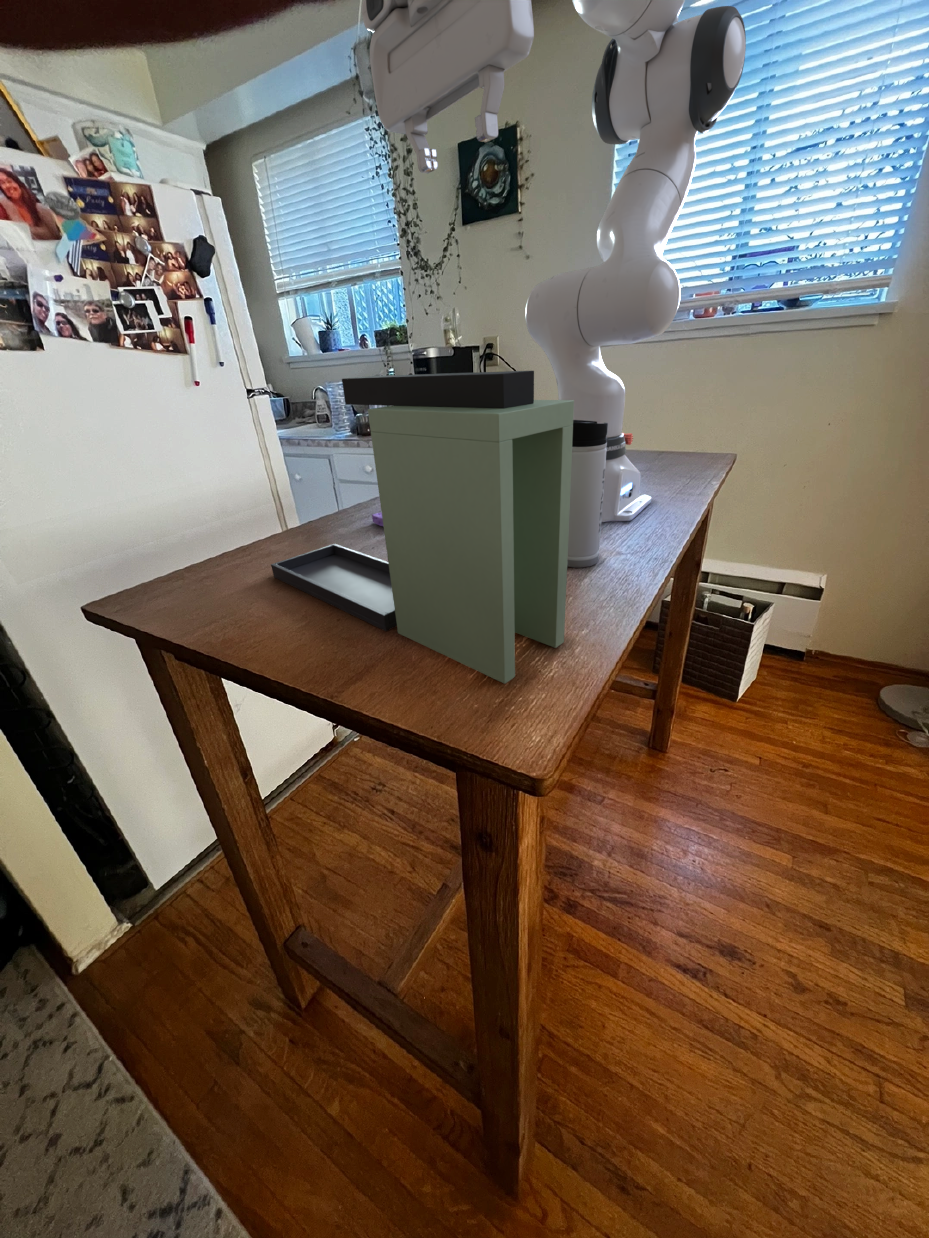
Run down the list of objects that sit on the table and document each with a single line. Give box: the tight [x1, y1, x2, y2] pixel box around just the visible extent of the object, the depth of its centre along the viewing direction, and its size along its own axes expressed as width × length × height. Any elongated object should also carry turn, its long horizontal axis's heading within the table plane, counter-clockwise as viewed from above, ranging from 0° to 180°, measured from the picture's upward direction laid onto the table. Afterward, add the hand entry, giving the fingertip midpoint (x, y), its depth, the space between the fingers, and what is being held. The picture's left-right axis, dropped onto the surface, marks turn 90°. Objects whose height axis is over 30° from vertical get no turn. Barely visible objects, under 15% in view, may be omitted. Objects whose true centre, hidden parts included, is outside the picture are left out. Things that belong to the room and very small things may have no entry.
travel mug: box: [567, 420, 608, 569], centre depth 70 cm, size 6×7×20 cm
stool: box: [367, 399, 574, 685], centre depth 50 cm, size 10×16×24 cm, turn 46°
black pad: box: [341, 370, 535, 409], centre depth 47 cm, size 4×22×2 cm, turn 46°
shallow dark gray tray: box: [270, 543, 397, 632], centre depth 70 cm, size 11×27×2 cm, turn 46°
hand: (456, 156), depth 54 cm, fingers open, 8 cm apart
